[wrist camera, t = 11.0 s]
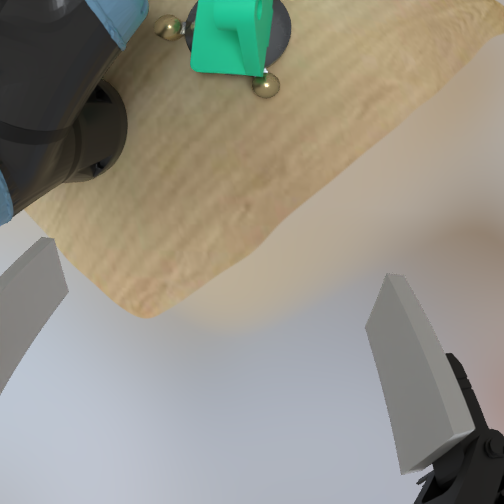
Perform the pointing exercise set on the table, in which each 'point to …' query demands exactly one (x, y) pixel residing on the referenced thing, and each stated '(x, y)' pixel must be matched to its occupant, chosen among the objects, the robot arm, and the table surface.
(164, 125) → the table surface
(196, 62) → the camera mount
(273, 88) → the plate
